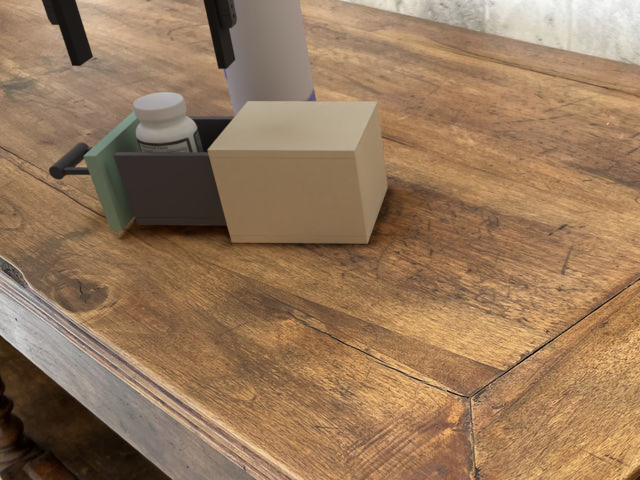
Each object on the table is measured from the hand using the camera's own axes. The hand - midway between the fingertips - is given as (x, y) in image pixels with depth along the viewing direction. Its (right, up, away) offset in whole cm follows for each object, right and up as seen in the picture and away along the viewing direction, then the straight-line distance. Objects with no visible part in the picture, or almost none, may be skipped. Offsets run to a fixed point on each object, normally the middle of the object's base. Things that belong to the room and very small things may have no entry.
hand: (154, 63), depth 74 cm
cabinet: (+13, -12, +9) cm, 20 cm away
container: (+4, +1, +26) cm, 26 cm away
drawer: (-3, -11, +9) cm, 15 cm away
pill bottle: (-1, -11, +9) cm, 14 cm away
